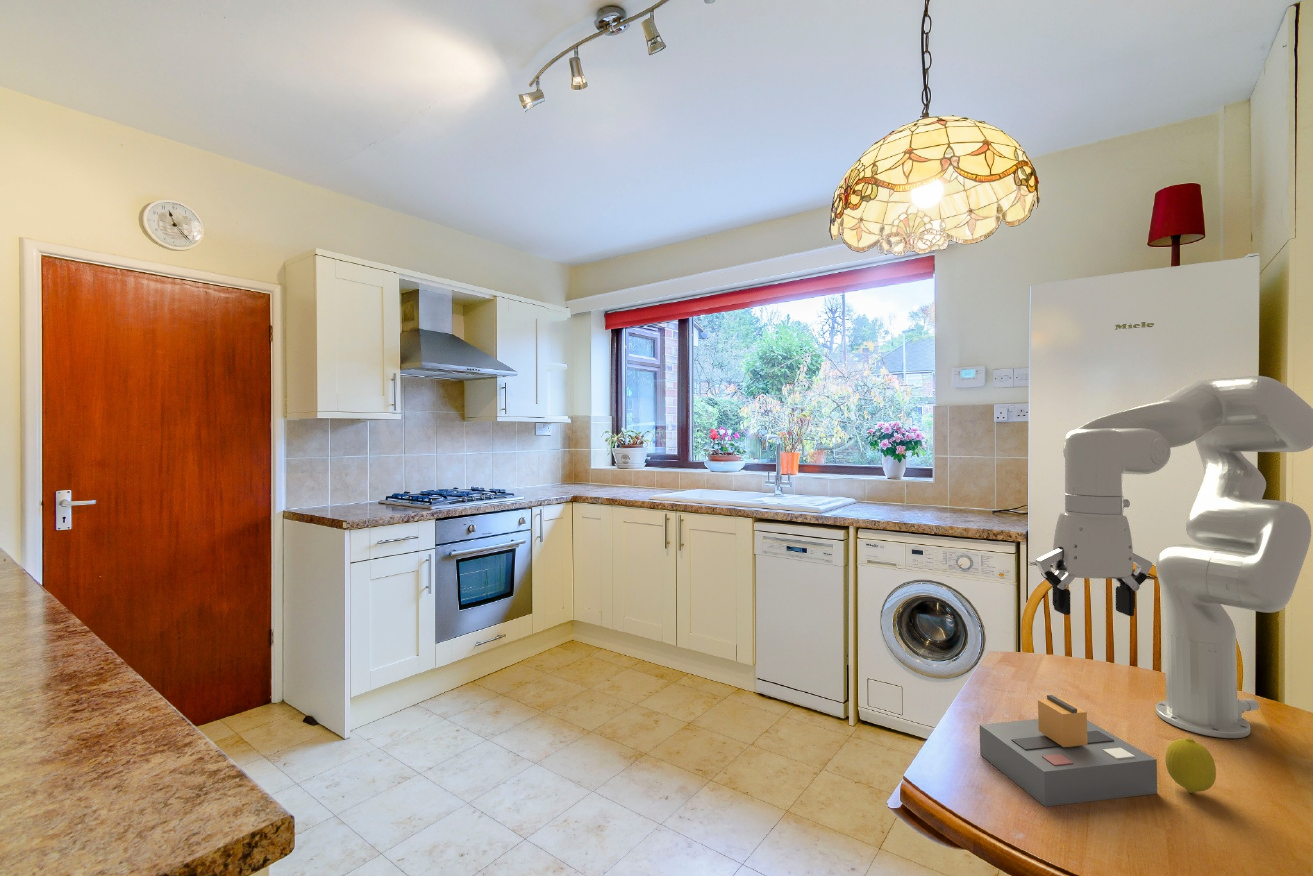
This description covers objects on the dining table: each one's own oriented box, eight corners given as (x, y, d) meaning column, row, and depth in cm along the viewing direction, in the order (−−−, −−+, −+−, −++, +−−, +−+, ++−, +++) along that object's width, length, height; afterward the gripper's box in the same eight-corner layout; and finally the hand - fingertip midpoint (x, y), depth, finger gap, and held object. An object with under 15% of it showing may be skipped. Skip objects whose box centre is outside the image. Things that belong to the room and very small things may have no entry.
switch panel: (1078, 744, 102) (1078, 713, 102) (1157, 793, 88) (1156, 758, 88) (980, 754, 99) (979, 723, 99) (1044, 806, 86) (1044, 770, 86)
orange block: (1061, 728, 96) (1060, 694, 96) (1087, 744, 91) (1086, 708, 91) (1038, 731, 96) (1037, 696, 96) (1063, 747, 91) (1062, 710, 91)
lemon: (1156, 781, 91) (1155, 729, 91) (1193, 781, 90) (1192, 728, 90) (1187, 804, 85) (1186, 748, 85) (1227, 804, 85) (1226, 747, 85)
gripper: (1132, 504, 100) (1132, 607, 99) (1024, 503, 100) (1024, 605, 100) (1168, 509, 92) (1168, 621, 92) (1051, 508, 93) (1051, 619, 93)
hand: (1093, 613), depth 96 cm, fingers open, 9 cm apart
